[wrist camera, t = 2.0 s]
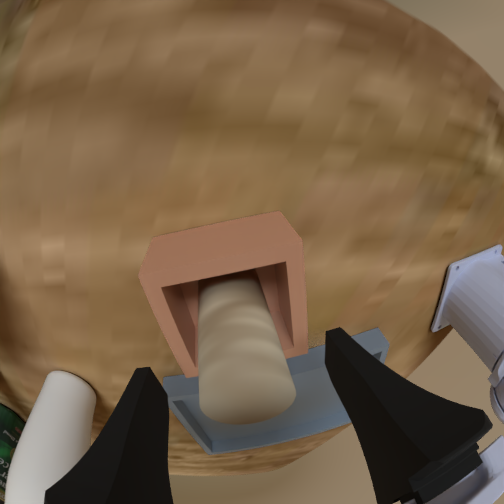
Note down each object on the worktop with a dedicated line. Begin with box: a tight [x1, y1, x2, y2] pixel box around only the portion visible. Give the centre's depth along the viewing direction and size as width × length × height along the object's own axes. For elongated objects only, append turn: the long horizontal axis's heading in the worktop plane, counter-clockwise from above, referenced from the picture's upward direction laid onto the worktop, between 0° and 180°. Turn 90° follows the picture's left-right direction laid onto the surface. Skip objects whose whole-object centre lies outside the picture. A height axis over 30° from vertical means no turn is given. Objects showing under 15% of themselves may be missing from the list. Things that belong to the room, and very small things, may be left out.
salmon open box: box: [138, 211, 308, 378], centre depth 15 cm, size 7×7×4 cm
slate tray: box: [163, 328, 389, 455], centre depth 22 cm, size 18×13×2 cm
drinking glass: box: [4, 370, 96, 504], centre depth 13 cm, size 7×7×15 cm
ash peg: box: [198, 268, 296, 425], centre depth 12 cm, size 4×4×8 cm
